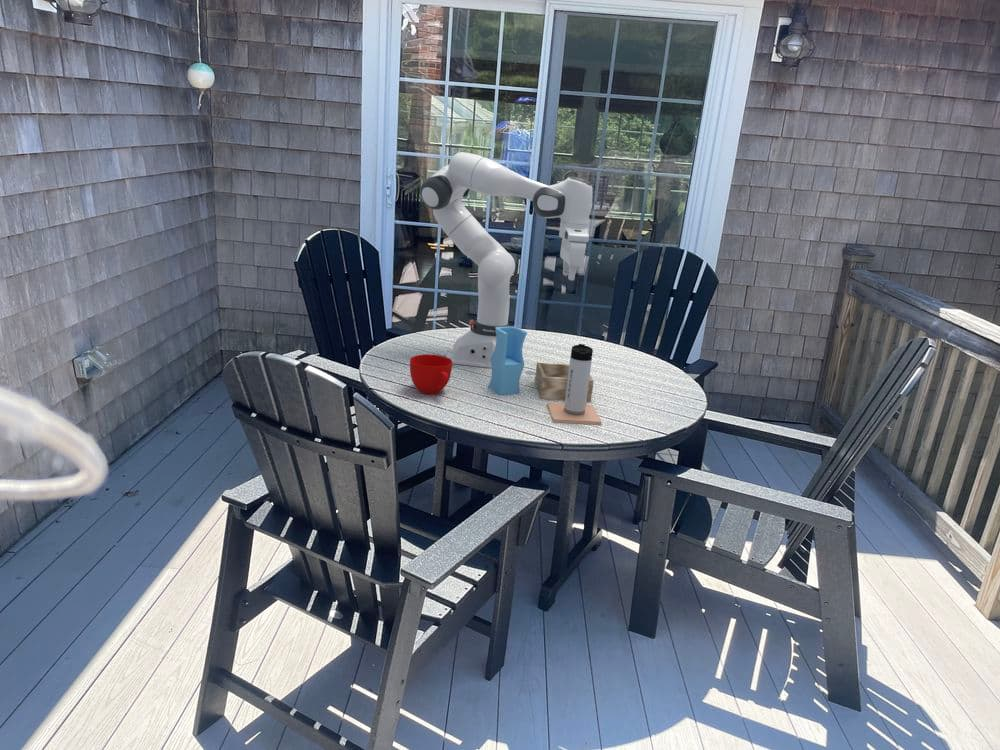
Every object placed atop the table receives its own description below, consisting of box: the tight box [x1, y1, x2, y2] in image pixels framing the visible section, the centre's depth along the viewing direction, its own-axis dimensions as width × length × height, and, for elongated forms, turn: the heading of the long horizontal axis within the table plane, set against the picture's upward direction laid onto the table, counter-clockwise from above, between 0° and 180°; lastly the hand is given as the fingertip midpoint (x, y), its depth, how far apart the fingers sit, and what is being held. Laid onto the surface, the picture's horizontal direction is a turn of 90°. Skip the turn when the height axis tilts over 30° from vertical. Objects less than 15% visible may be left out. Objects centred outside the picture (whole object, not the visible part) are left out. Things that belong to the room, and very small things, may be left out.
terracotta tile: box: [546, 402, 603, 426], centre depth 215 cm, size 14×14×1 cm
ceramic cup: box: [409, 353, 453, 396], centre depth 221 cm, size 13×17×10 cm
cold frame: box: [534, 361, 595, 402], centre depth 234 cm, size 16×16×7 cm
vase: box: [487, 325, 528, 396], centre depth 229 cm, size 8×8×20 cm
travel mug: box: [564, 343, 594, 415], centre depth 213 cm, size 6×7×20 cm
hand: (568, 277), depth 226 cm, fingers open, 8 cm apart
